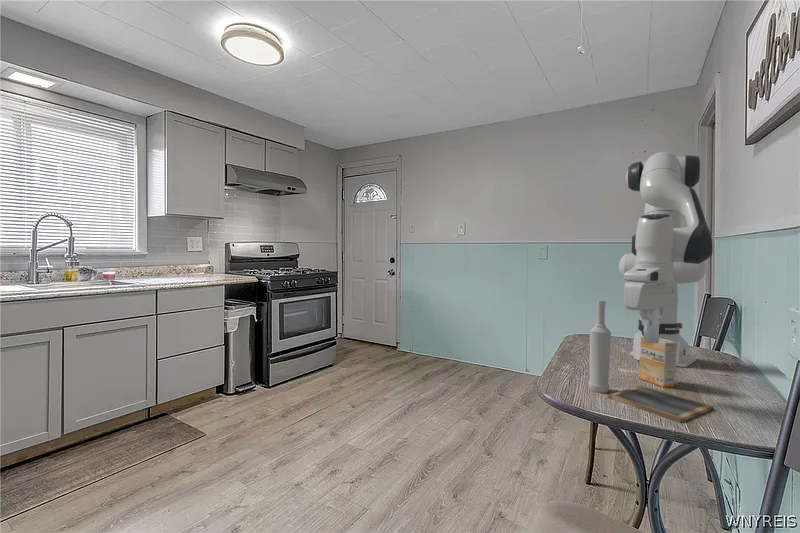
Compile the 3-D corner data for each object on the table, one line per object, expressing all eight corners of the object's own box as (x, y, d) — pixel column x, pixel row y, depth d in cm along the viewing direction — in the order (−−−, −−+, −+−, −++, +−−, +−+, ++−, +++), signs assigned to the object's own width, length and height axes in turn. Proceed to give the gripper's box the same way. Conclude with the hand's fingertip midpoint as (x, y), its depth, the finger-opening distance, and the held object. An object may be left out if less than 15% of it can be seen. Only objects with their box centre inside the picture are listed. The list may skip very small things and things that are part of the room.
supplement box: (637, 378, 118) (639, 336, 118) (649, 377, 120) (651, 335, 119) (663, 387, 110) (665, 342, 110) (676, 386, 112) (677, 341, 111)
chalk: (647, 340, 107) (649, 296, 107) (661, 342, 104) (662, 298, 104) (641, 341, 106) (642, 297, 105) (654, 343, 103) (655, 298, 102)
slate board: (641, 387, 110) (641, 385, 110) (713, 409, 95) (713, 405, 95) (607, 397, 102) (607, 394, 102) (680, 422, 87) (680, 418, 87)
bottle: (592, 385, 112) (594, 299, 111) (611, 390, 108) (614, 300, 107) (585, 389, 108) (587, 300, 107) (605, 394, 104) (608, 302, 103)
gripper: (661, 272, 112) (659, 320, 113) (619, 273, 102) (618, 325, 103) (685, 274, 107) (683, 323, 107) (644, 275, 97) (642, 330, 97)
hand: (651, 324), depth 105 cm, fingers closed on chalk, 3 cm apart
